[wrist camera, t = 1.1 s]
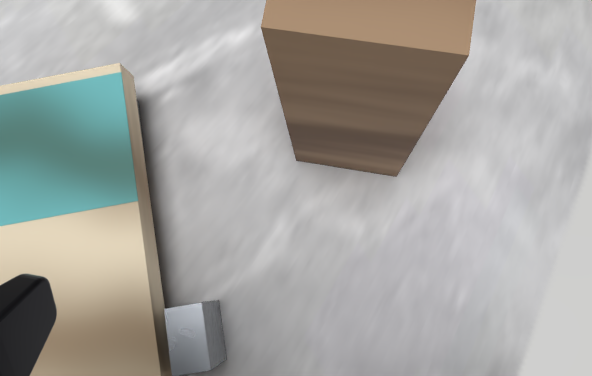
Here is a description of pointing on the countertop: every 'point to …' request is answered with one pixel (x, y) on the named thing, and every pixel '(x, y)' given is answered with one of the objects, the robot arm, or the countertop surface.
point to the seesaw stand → (194, 334)
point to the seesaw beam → (83, 221)
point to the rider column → (363, 74)
